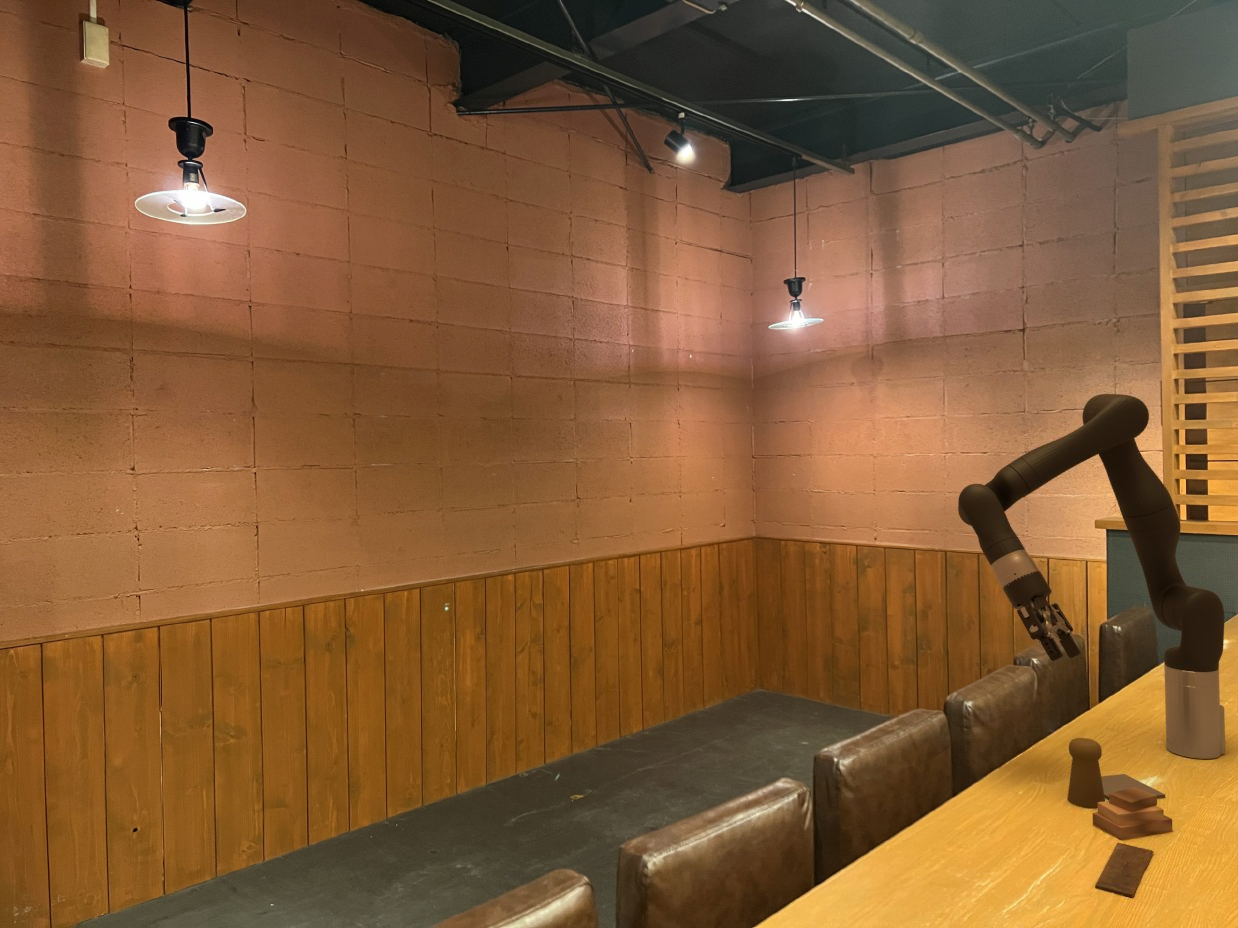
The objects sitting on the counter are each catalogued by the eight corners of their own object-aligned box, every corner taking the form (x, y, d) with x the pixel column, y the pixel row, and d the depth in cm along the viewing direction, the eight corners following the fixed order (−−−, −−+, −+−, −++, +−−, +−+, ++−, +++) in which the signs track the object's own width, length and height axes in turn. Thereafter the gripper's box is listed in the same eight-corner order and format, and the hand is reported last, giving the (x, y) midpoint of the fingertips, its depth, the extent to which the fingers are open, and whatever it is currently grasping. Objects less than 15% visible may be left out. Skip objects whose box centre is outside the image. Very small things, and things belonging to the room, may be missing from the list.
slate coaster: (1124, 776, 166) (1124, 773, 166) (1165, 797, 156) (1165, 794, 156) (1076, 782, 165) (1076, 778, 165) (1114, 803, 155) (1114, 800, 155)
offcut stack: (1142, 816, 149) (1141, 784, 149) (1173, 831, 143) (1172, 798, 143) (1092, 824, 147) (1091, 792, 147) (1122, 840, 141) (1121, 806, 141)
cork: (1102, 796, 158) (1100, 735, 158) (1109, 810, 152) (1107, 746, 152) (1064, 793, 160) (1063, 733, 160) (1070, 806, 154) (1068, 744, 154)
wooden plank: (1116, 839, 140) (1153, 846, 136) (1117, 847, 140) (1154, 854, 136) (1094, 885, 127) (1134, 893, 124) (1095, 894, 127) (1135, 902, 124)
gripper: (1022, 569, 162) (1071, 651, 154) (1052, 569, 171) (1099, 646, 164) (987, 588, 166) (1033, 669, 159) (1019, 587, 176) (1063, 663, 169)
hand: (1067, 657), depth 162 cm, fingers open, 8 cm apart
